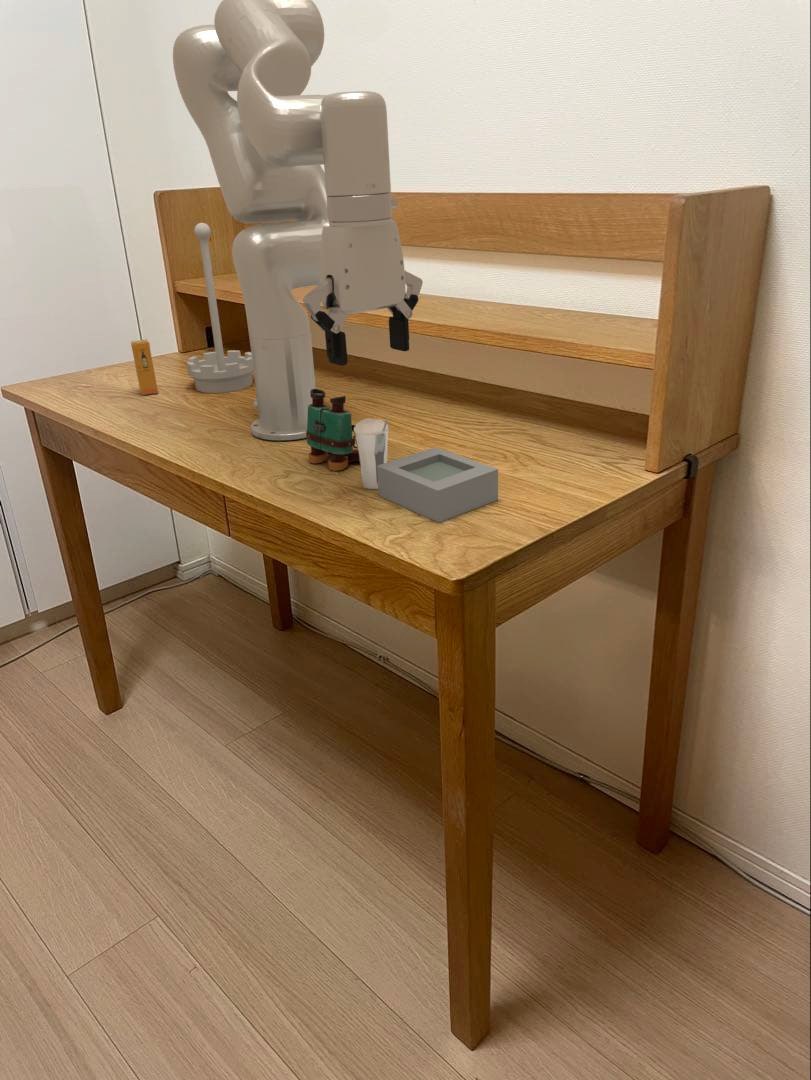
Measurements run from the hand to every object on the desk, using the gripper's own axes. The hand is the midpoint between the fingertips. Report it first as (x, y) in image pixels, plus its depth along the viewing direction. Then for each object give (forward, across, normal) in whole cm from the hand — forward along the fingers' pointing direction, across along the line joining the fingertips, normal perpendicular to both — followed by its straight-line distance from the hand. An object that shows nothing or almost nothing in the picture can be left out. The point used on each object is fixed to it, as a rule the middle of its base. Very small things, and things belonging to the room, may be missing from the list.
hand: (369, 356), depth 106 cm
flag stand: (+17, -11, -64) cm, 68 cm away
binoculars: (+18, -3, -12) cm, 22 cm away
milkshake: (+18, 0, 0) cm, 18 cm away
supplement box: (+17, +2, -70) cm, 72 cm away
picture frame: (+18, -3, +9) cm, 20 cm away
